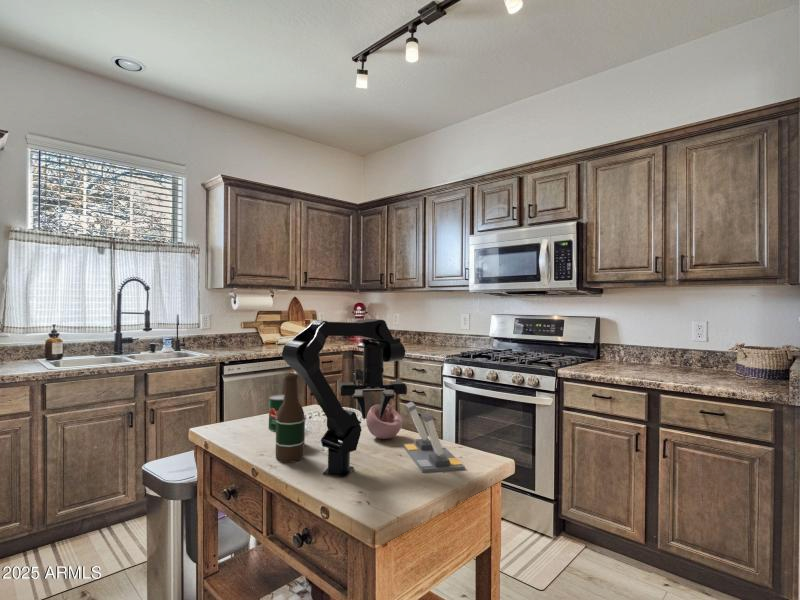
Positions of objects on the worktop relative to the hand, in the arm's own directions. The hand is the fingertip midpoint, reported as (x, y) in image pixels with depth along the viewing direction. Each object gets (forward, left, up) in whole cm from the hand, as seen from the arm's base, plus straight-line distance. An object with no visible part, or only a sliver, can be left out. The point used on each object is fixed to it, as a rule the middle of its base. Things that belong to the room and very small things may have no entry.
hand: (372, 418), depth 127 cm
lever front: (+2, -19, -9) cm, 21 cm away
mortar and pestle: (+22, +2, -12) cm, 25 cm away
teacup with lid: (+7, +29, -12) cm, 32 cm away
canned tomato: (+23, +40, -12) cm, 48 cm away
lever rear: (+15, -13, -9) cm, 21 cm away
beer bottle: (-4, +23, -12) cm, 26 cm away
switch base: (+8, -16, -12) cm, 22 cm away
